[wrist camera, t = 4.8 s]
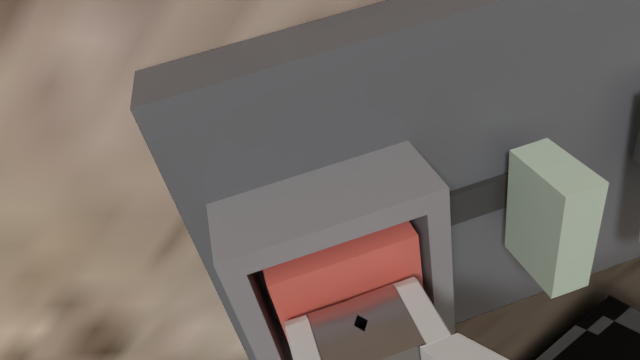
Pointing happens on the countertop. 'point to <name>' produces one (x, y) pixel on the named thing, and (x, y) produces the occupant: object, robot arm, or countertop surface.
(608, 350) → the red board with handle
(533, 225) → the upright sage green cuboid
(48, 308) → the countertop surface
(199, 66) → the control panel
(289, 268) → the red push button
